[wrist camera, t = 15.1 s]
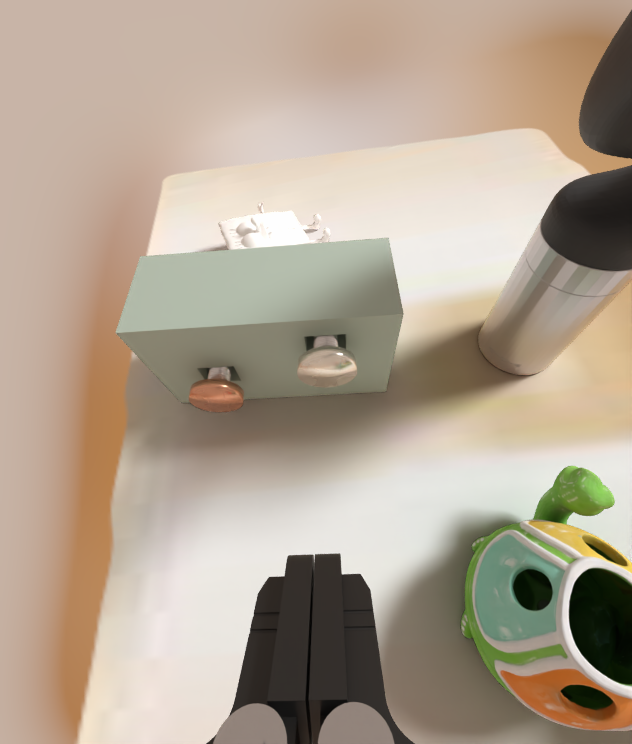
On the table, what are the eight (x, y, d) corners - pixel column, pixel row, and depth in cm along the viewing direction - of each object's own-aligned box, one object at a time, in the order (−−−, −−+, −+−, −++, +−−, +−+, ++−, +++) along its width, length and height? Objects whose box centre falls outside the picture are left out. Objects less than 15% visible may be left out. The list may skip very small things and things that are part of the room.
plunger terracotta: (213, 321, 46) (198, 292, 42) (255, 318, 46) (245, 288, 41) (199, 413, 40) (179, 391, 35) (248, 410, 40) (235, 387, 35)
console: (193, 339, 50) (140, 256, 37) (376, 327, 49) (388, 237, 36) (181, 403, 45) (115, 332, 32) (385, 391, 44) (403, 314, 31)
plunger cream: (300, 291, 42) (294, 254, 37) (346, 288, 42) (347, 250, 37) (300, 389, 35) (293, 359, 31) (356, 385, 35) (358, 355, 30)
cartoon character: (344, 288, 57) (246, 310, 52) (301, 218, 66) (214, 230, 62) (354, 246, 50) (242, 266, 45) (303, 174, 60) (207, 185, 55)
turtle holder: (610, 515, 35) (720, 490, 25) (596, 741, 27) (748, 841, 17) (482, 465, 38) (533, 425, 28) (437, 654, 31) (485, 694, 20)
